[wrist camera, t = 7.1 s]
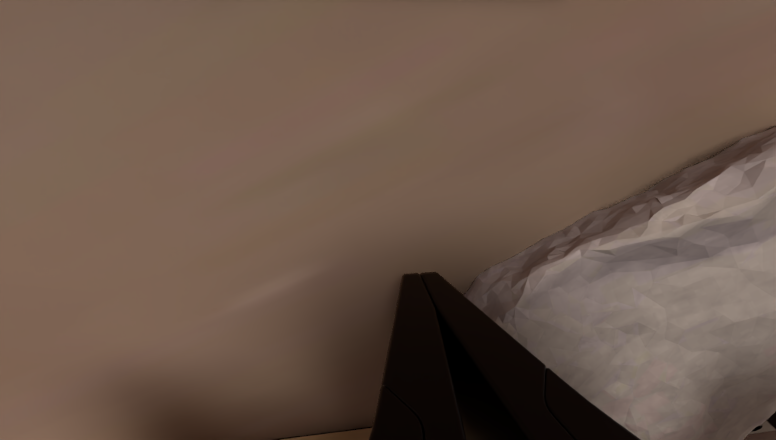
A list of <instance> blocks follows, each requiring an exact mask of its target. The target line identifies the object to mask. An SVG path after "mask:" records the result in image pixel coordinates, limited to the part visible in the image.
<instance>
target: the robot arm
mask: <svg viewBox="0 0 776 440" xmlns="http://www.w3.org/2000/svg"><path fill="white" fill-rule="evenodd" d="M775 430H776V412H775V413H774V414H772V415H771V416H770V418H768V419H767V420H766V421H765V422H763V423H762V424H761V425H759V426H757V427H756V428H754V429H753V430H752V431H751V432H750V433H749V434H755V433H762V432H768V431H775ZM369 440H641V439H639V438H638V437H637V436H635V435H634V434H633V433H631V432H630V431H629V430H627V429H626V428H624V427H623V426H622V425H620V424H619V423H618V422H616V421H615V420H614V419H612V418H611V417H610V416H608V415H607V414H606V413H604V412H603V411H602V410H600V409H599V408H598V407H596V406H595V405H594V404H592V403H591V402H590V401H588V400H587V399H586V398H585V397H584V396H582V395H581V394H580V393H579V392H577V391H576V390H575V389H574V388H572V387H571V386H570V385H569V384H568V383H566V382H565V381H564V380H563V379H562V378H560V377H559V376H558V375H557V374H556V373H555V372H553V371H552V370H551V369H550V368H546V365H545V364H544V363H543V362H541V361H540V360H539V359H538V358H537V357H536V356H534V355H533V354H532V353H531V352H530V351H528V350H527V349H526V348H525V347H524V346H523V345H521V344H520V343H519V342H518V341H517V340H516V339H514V338H513V337H512V336H511V335H510V334H508V333H507V332H506V331H505V330H504V329H503V328H501V327H500V326H499V325H498V324H497V323H496V322H494V321H493V320H492V319H491V318H490V317H489V316H487V315H486V314H485V313H484V312H483V311H481V310H480V309H479V308H478V307H477V306H476V305H474V304H473V303H472V302H471V301H470V300H469V299H467V298H466V297H465V296H464V295H463V294H462V293H460V292H459V291H458V290H457V289H456V288H454V287H453V286H452V285H451V284H450V283H449V282H447V281H446V280H445V279H444V278H443V277H442V276H440V275H439V274H438V273H436V272H425V273H421V274H418V273H411V274H404V275H403V277H402V281H401V287H400V292H399V297H398V302H397V307H396V312H395V318H394V323H393V328H392V333H391V338H390V343H389V348H388V354H387V359H386V364H385V369H384V374H383V379H382V386H381V389H380V394H379V399H378V404H377V409H376V413H375V417H374V421H373V426H372V430H371V433H370V437H369Z"/></svg>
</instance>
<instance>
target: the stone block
mask: <svg viewBox="0 0 776 440" xmlns="http://www.w3.org/2000/svg"><path fill="white" fill-rule="evenodd" d="M464 296H465V297H466V298H467V299H469V300H470V301H471V302H472V303H473V304H474V305H476V306H477V307H478V308H479V309H480V310H481V311H483V312H484V313H485V314H486V315H487V316H489V317H490V318H491V319H492V320H493V321H494V322H496V323H497V324H498V325H499V326H500V327H501V328H503V329H504V330H505V331H506V332H507V333H508V334H510V335H511V336H512V337H513V338H514V339H516V340H517V341H518V342H519V343H520V344H521V345H523V346H524V347H525V348H526V349H527V350H528V351H530V352H531V353H532V354H533V355H534V356H536V357H537V358H538V359H539V360H540V361H541V362H543V363H544V364H545V365H546V368H550V369H551V370H552V371H553V372H555V373H556V374H557V375H558V376H559V377H560V378H562V379H563V380H564V381H565V382H566V383H568V384H569V385H570V386H571V387H572V388H574V389H575V390H576V391H577V392H579V393H580V394H581V395H582V396H584V397H585V398H586V399H587V400H588V401H590V402H591V403H592V404H594V405H595V406H596V407H598V408H599V409H600V410H602V411H603V412H604V413H606V414H607V415H608V416H610V417H611V418H612V419H614V420H615V421H616V422H618V423H619V424H620V425H622V426H623V427H624V428H626V429H627V430H629V431H630V432H631V433H633V434H634V435H635V436H637V437H638V438H639V439H641V440H744V438H745V437H746V436H747V435H748V434H749V433H750V432H751V431H752V430H753V429H754V428H756V427H757V426H759V425H761V424H762V423H763V422H765V421H766V420H767V419H768V418H770V416H771V415H772V414H774V413H775V412H776V126H775V127H773V128H771V129H769V130H767V131H764V132H761V133H758V134H755V135H752V136H749V137H746V138H743V139H741V140H739V141H738V142H737V143H735V144H734V145H732V146H730V147H728V148H726V149H725V150H723V151H722V152H721V153H719V154H717V155H716V156H714V157H712V158H710V159H708V160H705V161H702V162H700V163H698V164H696V165H693V166H690V167H687V168H685V169H683V170H682V171H680V172H679V173H677V174H675V175H672V176H670V177H667V178H665V179H663V180H662V181H660V182H659V183H657V184H656V185H654V186H653V187H651V188H650V189H649V190H648V191H647V192H644V193H642V194H640V195H637V196H634V197H631V198H629V199H627V200H625V201H622V202H620V203H618V204H616V205H614V206H612V207H610V208H607V209H602V210H598V211H593V212H592V213H590V214H588V215H586V216H585V217H583V218H581V219H580V220H578V221H576V222H575V223H573V224H572V225H570V226H568V227H567V228H565V229H563V230H561V231H559V232H557V233H555V234H553V235H551V236H548V237H546V238H544V239H542V240H540V241H539V242H537V243H536V244H534V245H532V246H530V247H529V248H527V249H526V250H524V251H523V252H521V253H519V254H517V255H516V256H514V257H512V258H510V259H508V260H506V261H503V262H501V263H499V264H496V265H494V266H492V267H490V268H489V269H487V270H486V271H484V272H483V273H481V274H479V275H478V276H477V277H476V279H475V280H474V282H473V284H472V285H471V287H470V288H469V290H468V291H467V292H466V293H465V295H464Z"/></svg>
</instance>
